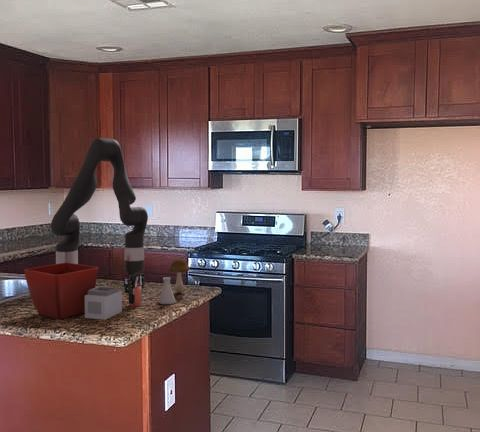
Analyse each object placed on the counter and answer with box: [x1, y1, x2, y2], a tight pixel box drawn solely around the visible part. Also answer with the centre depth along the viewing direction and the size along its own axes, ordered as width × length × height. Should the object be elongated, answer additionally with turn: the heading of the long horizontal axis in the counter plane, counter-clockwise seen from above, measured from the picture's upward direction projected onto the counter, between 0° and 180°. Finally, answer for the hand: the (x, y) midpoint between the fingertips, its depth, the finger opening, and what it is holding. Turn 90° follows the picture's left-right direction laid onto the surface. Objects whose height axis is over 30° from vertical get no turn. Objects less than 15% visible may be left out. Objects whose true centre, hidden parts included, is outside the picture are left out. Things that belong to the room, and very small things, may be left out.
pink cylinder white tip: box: [128, 285, 142, 308], centre depth 223 cm, size 5×5×8 cm
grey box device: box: [84, 285, 123, 320], centre depth 207 cm, size 8×12×10 cm, turn 162°
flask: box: [157, 276, 176, 305], centre depth 227 cm, size 7×7×10 cm
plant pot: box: [23, 263, 99, 320], centre depth 209 cm, size 19×19×17 cm
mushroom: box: [168, 258, 191, 294], centre depth 246 cm, size 9×11×15 cm
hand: (134, 301), depth 223 cm, fingers closed on pink cylinder white tip, 4 cm apart
